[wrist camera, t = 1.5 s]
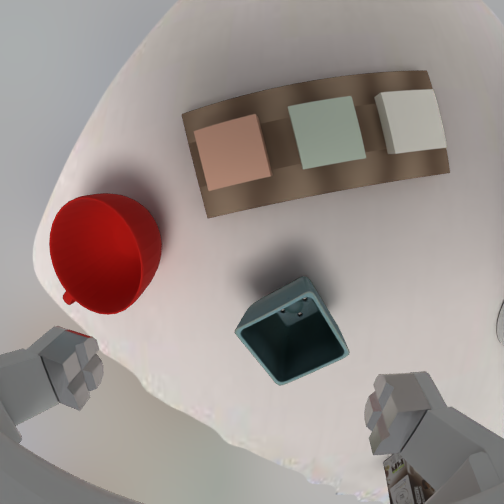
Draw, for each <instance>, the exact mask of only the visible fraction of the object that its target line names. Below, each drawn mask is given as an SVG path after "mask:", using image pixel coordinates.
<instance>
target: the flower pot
mask: <svg viewBox="0 0 504 504" xmlns="http://www.w3.org/2000/svg"><path fill="white" fill-rule="evenodd" d="M305 297H307V299H306V300H303V298H305ZM282 309H285V311H284V312H281V310H282ZM299 312H301V313H302V315H300V316H299V315H298V313H299ZM235 334H236V335H237V337H238V338H239V339H240V340H241V342H242V343H243V344H244V345H245V347H246V348H247V349H248V350H249V351H250V352H251V354H252V355H253V356H254V357H255V358H256V360H257V361H258V362H259V363H260V365H261V366H262V367H263V368H264V369H265V371H266V372H267V373H268V374H269V376H270V377H271V378H272V379H273V381H274V382H275V383H276V384H278V385H284V384H287V383H289V382H292V381H294V380H296V379H299V378H301V377H303V376H305V375H308V374H310V373H312V372H315V371H316V370H319V369H321V368H323V367H325V366H328V365H330V364H332V363H334V362H336V361H339V360H341V359H343V358H345V357H346V356H348V355H349V353H350V352H349V349H348V347H347V345H346V342H345V340H344V338H343V336H342V334H341V331H340V329H339V327H338V325H337V324H336V322H335V321H334V319H333V317H332V316H331V314H330V312H329V311H328V309H327V307H326V306H325V304H324V303H323V301H322V299H321V298H320V296H319V294H318V293H317V291H316V289H315V288H314V286H313V284H312V283H311V281H310V280H309V279H308V278H307V277H300V278H298V279H297V280H295V281H293V282H291V283H290V284H288V285H286V286H284V287H282V288H280V289H279V290H277V291H275V292H273V293H271V294H270V295H268V296H266V297H264V298H262V299H260V300H258V301H257V302H255V303H254V304H252V305H251V306H250V307H249V308H248V310H247V311H246V312H245V314H244V316H243V317H242V319H241V321H240V323H239V324H238V326H237V328H236V329H235Z"/></svg>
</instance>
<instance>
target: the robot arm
mask: <svg viewBox="0 0 504 504" xmlns="http://www.w3.org/2000/svg"><path fill="white" fill-rule="evenodd" d="M497 336H498V339H499V341H500V343H501V344H503V345H504V304H503V306H502V309H501V311H500V314H499V318H498V323H497ZM98 350H99V347H98V343H97V340H96V339H95V338H93V337H91V336H87V335H84V334H81V333H78V332H75V331H72V330H68V329H65V328H62V327H59V326H56V327H53V328H52V329H50V330H49V331H48V332H47V333H45V334H44V335H43V336H42V337H41V338H40V339H38V340H37V341H36V342H35V343H34V344H32V345H31V346H30V347H29V348H28V349H26V350H25V349H20V350H16V351H12V352H9V353H5V354H2V355H0V504H144V503H141V502H137V501H135V500H132V499H129V498H126V497H123V496H120V495H118V494H115V493H112V492H110V491H108V490H105V489H103V488H100V487H98V486H96V485H93V484H91V483H89V482H87V481H84V480H82V479H80V478H78V477H76V476H74V475H72V474H70V473H68V472H66V471H64V470H62V469H60V468H59V467H57V466H55V465H53V464H51V463H49V462H48V461H46V460H44V459H43V458H41V457H39V456H37V455H36V454H34V453H33V452H31V451H29V450H28V449H26V448H24V447H23V446H22V445H20V444H19V443H20V442H21V440H22V436H21V434H20V433H19V431H18V430H17V428H16V425H18V424H20V423H22V422H24V421H26V420H28V419H30V418H32V417H34V416H36V415H38V414H40V413H42V412H44V411H46V410H48V409H49V408H52V407H53V406H56V405H57V404H59V403H62V404H64V405H66V406H69V407H72V408H74V409H77V410H81V409H82V408H83V406H84V405H85V404H86V402H87V401H88V400H89V398H90V392H89V391H91V390H94V389H96V388H97V387H98V386H99V385H100V383H101V381H102V377H103V373H104V372H103V363H102V360H101V359H100V358H99V356H98V355H97V352H98ZM374 388H375V392H373V393H372V394H371V395H370V396H369V397H368V400H367V402H366V405H365V412H364V416H365V423H366V427H368V428H369V429H370V430H371V431H372V433H371V435H370V437H369V440H370V444H371V449H372V453H373V455H384V454H395V453H400V455H401V456H402V457H403V458H404V459H405V460H406V461H407V462H408V463H409V464H410V465H411V466H412V467H413V468H414V469H415V470H416V471H417V472H418V473H419V474H420V475H421V476H422V477H423V478H424V479H425V480H426V481H427V482H428V483H429V484H430V485H431V486H432V487H433V488H434V489H435V490H436V491H437V492H435V493H434V494H433V495H432V496H431V497H430V498H429V499H428V500H427V501H426V502H425V504H504V439H503V438H502V437H500V436H498V435H497V434H495V433H493V432H492V431H490V430H488V429H487V428H485V427H484V426H482V425H480V424H479V423H477V422H475V421H474V420H472V419H471V418H469V417H467V416H466V415H464V414H463V413H461V412H459V411H458V410H456V409H455V408H453V407H447V405H446V403H445V402H444V400H443V398H442V396H441V394H440V393H439V391H438V389H437V387H436V385H435V384H434V382H433V380H432V378H431V377H430V375H429V373H427V372H425V371H424V372H411V373H399V374H379V375H378V376H377V378H376V380H375V382H374Z"/></svg>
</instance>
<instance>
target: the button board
mask: <svg viewBox="0 0 504 504" xmlns="http://www.w3.org/2000/svg"><path fill="white" fill-rule="evenodd" d="M427 89H432V85H431V82H430V79H429V76H428V72H427V71H394V72H379V73H367V74H357V75H348V76H340V77H333V78H326V79H319V80H313V81H307V82H302V83H296V84H291V85H286V86H281V87H277V88H272V89H268V90H263V91H259V92H255V93H251V94H247V95H243V96H239V97H236V98H232V99H228V100H225V101H221V102H218V103H215V104H211V105H208V106H205V107H202V108H199V109H196V110H193V111H190V112H187V113H184V114H182V119H183V123H184V127H185V131H186V135H187V139H188V144H189V148H190V152H191V156H192V160H193V164H194V168H195V172H196V176H197V179H198V183H199V187H200V191H201V195H202V199H203V202H204V206H205V210H206V214H207V218H212V217H216V216H221V215H225V214H229V213H234V212H238V211H243V210H247V209H252V208H256V207H261V206H266V205H270V204H275V203H280V202H285V201H290V200H294V199H299V198H304V197H309V196H315V195H320V194H325V193H330V192H336V191H341V190H346V189H352V188H357V187H363V186H369V185H375V184H380V183H386V182H393V181H399V180H405V179H411V178H418V177H425V176H431V175H438V174H445V173H450V169H449V162H448V156H447V150H446V148H439V149H430V150H421V151H413V152H405V153H398V154H388V152H387V147H386V143H385V138H384V134H383V129H382V125H381V121H380V117H379V113H378V109H377V105H376V101H375V98H374V97H375V96H377V95H378V94H379V93H381V92H392V91H406V90H427ZM346 96H351V97H352V100H353V104H354V108H355V111H356V115H357V119H358V123H359V127H360V132H361V136H362V140H363V145H364V149H365V154H366V158H364V159H358V160H352V161H346V162H341V163H335V164H329V165H324V166H319V167H314V168H308V169H302V165H301V161H300V156H299V152H298V148H297V144H296V140H295V136H294V132H293V128H292V124H291V120H290V116H289V112H288V106H293V105H298V104H303V103H308V102H314V101H320V100H326V99H332V98H339V97H346ZM253 114H256V115H257V116H258V118H259V122H260V126H261V130H262V134H263V138H264V142H265V146H266V150H267V154H268V158H269V162H270V166H271V171H272V176H270V177H266V178H261V179H257V180H252V181H248V182H244V183H240V184H235V185H231V186H227V187H223V188H219V189H215V190H211V191H209V190H208V187H207V183H206V179H205V175H204V171H203V167H202V163H201V159H200V155H199V151H198V147H197V143H196V139H195V135H194V131H196V130H199V129H202V128H205V127H209V126H212V125H215V124H219V123H222V122H226V121H230V120H233V119H237V118H241V117H245V116H249V115H253Z"/></svg>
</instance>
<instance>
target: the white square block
mask: <svg viewBox="0 0 504 504" xmlns="http://www.w3.org/2000/svg"><path fill="white" fill-rule="evenodd" d="M374 98H375V101H376V105H377V109H378V113H379V117H380V121H381V125H382V129H383V134H384V138H385V143H386V147H387V152H388V154H398V153H405V152H413V151H421V150H430V149H439V148H447V144H446V139H445V134H444V129H443V124H442V120H441V116H440V111H439V107H438V103H437V100H436V96H435V92H434V89H427V90H406V91H392V92H381V93H379V94H378V95H377V96H375V97H374Z"/></svg>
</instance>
